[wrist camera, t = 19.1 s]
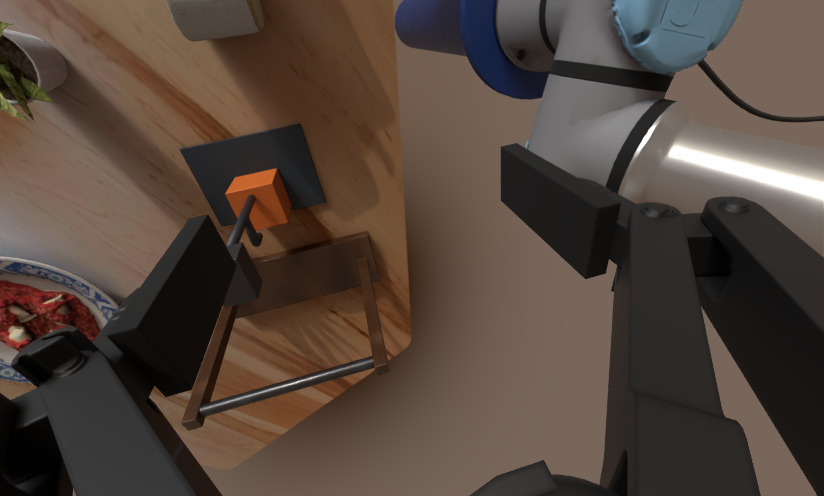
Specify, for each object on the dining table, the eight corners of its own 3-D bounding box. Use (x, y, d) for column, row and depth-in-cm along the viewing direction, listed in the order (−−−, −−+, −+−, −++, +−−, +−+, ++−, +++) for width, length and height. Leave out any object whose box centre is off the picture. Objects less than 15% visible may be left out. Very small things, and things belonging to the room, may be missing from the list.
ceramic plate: (131, 261, 51) (121, 273, 49) (141, 374, 63) (134, 388, 61) (-117, 234, 43) (-144, 246, 40) (-51, 371, 54) (-69, 387, 52)
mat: (300, 123, 47) (300, 124, 46) (325, 201, 53) (325, 202, 53) (180, 148, 45) (179, 149, 45) (222, 225, 52) (221, 226, 51)
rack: (366, 231, 58) (390, 337, 38) (378, 276, 63) (405, 389, 43) (211, 269, 55) (147, 405, 35) (237, 312, 61) (196, 452, 41)
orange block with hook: (277, 167, 49) (249, 250, 30) (291, 204, 52) (274, 299, 33) (234, 177, 48) (180, 267, 30) (252, 214, 51) (212, 315, 33)
